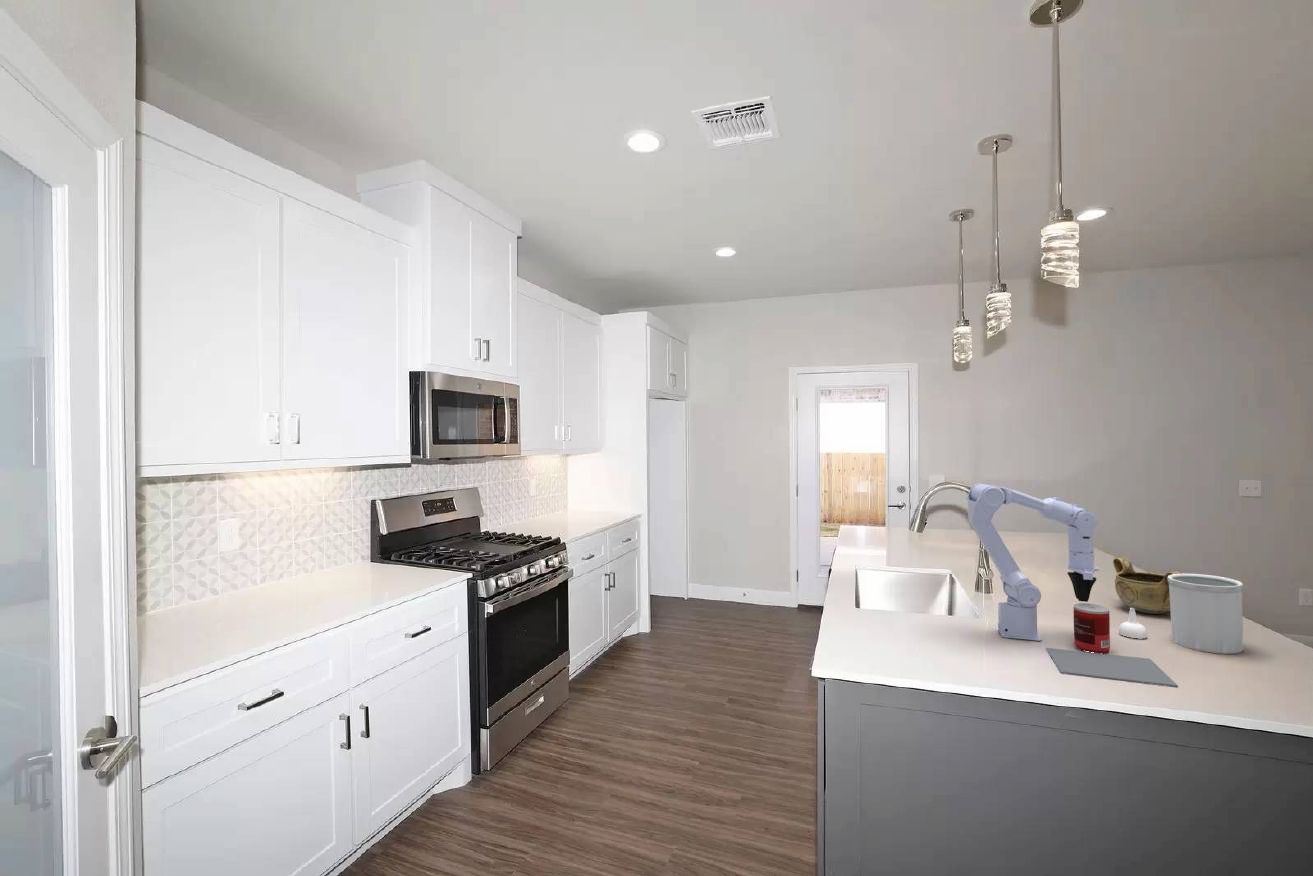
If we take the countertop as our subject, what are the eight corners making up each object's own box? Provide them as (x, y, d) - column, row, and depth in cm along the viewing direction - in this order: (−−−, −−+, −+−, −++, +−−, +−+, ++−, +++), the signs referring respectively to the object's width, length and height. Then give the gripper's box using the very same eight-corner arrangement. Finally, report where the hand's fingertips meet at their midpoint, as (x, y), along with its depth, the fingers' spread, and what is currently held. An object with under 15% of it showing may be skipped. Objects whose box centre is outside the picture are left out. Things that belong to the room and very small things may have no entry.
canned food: (1108, 646, 158) (1107, 605, 158) (1111, 656, 151) (1111, 613, 151) (1073, 641, 162) (1072, 601, 162) (1074, 651, 155) (1074, 609, 155)
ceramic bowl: (1094, 602, 198) (1094, 557, 198) (1142, 600, 199) (1142, 556, 199) (1155, 623, 176) (1154, 573, 176) (1209, 621, 177) (1208, 571, 177)
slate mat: (1060, 673, 141) (1060, 671, 141) (1046, 649, 157) (1046, 647, 157) (1177, 687, 133) (1177, 685, 133) (1150, 660, 148) (1150, 658, 148)
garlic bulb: (1152, 642, 162) (1154, 613, 162) (1126, 639, 163) (1128, 610, 163) (1138, 635, 168) (1141, 607, 168) (1113, 631, 170) (1115, 604, 169)
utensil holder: (1167, 646, 158) (1166, 580, 158) (1169, 632, 168) (1168, 570, 168) (1245, 659, 148) (1244, 589, 147) (1242, 643, 158) (1241, 578, 158)
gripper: (1106, 557, 157) (1107, 608, 157) (1091, 547, 170) (1092, 594, 171) (1074, 555, 160) (1075, 606, 160) (1062, 546, 173) (1062, 592, 173)
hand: (1081, 600), depth 165 cm, fingers closed
